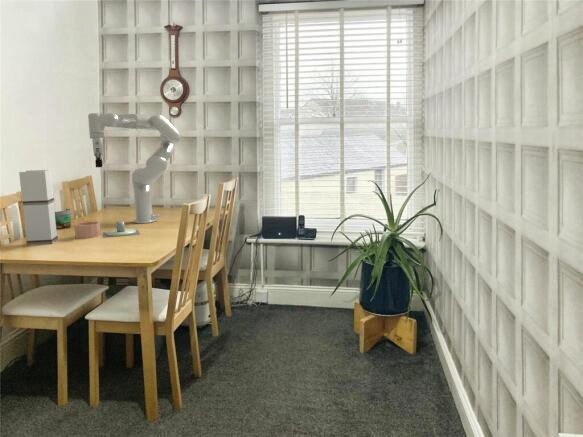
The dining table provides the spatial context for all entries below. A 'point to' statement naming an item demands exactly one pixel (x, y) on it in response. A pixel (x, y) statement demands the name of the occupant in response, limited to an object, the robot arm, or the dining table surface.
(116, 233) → the lid
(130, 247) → the dining table surface
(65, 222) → the food container
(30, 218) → the grey two-tier tower
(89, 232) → the bowl
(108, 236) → the mat
